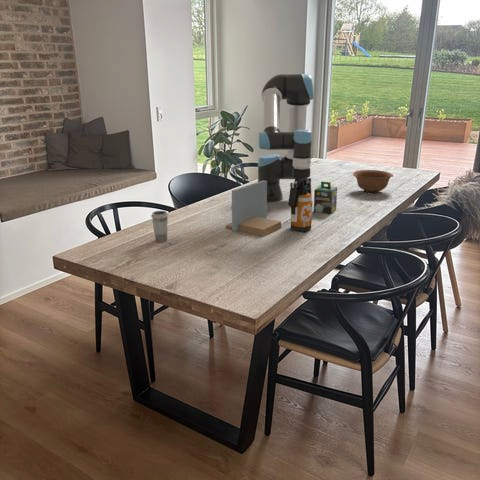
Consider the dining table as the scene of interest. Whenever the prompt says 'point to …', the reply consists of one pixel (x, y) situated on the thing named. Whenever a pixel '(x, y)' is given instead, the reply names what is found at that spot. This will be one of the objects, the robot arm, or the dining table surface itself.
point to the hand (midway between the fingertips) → (299, 218)
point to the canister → (303, 211)
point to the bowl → (372, 180)
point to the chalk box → (325, 198)
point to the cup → (160, 225)
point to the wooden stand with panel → (252, 210)
